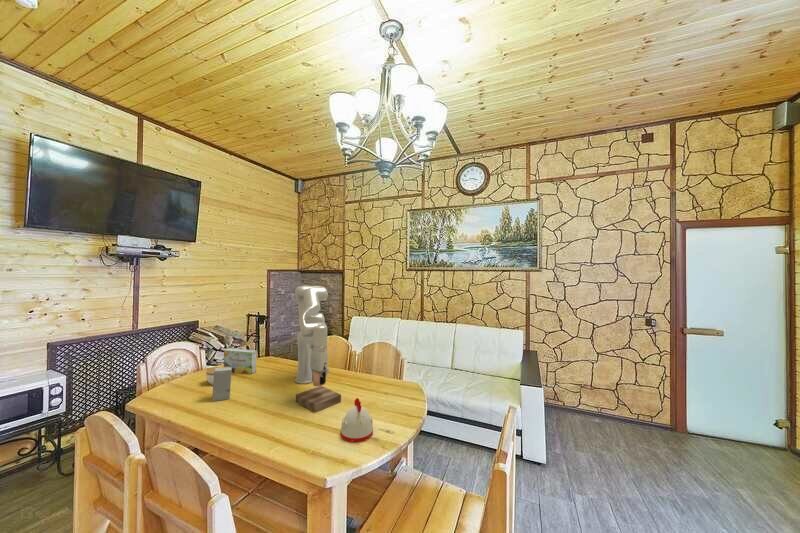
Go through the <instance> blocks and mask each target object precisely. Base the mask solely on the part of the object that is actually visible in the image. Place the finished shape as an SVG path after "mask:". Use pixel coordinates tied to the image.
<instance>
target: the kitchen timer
mask: <svg viewBox="0 0 800 533" xmlns="http://www.w3.org/2000/svg"><path fill="white" fill-rule="evenodd" d="M361 404H362V403H361V401H360V398H359V397H356V398H355V400H354V406H351V407H350V408H349V410H348V411H347V412H346V413H345V416H344V417H343V416H342V421H341V428H340V437H341V438H342V439H343V440H344V441H346V442H350V443H361V442H365V441H367V439H368V440H369V439H371V437H372V436H374V435H373V433H374V426H373V417H372V416H371V415H370V414H371V413H369V412H368V410H367V409H366V408H365V407H364V406H362V405H361Z"/></svg>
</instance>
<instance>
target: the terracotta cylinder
mask: <svg viewBox="0 0 800 533" xmlns="http://www.w3.org/2000/svg"><path fill="white" fill-rule="evenodd" d="M322 373H324V371H323V372H322ZM320 377H321V374H320V372H318V371H315V370H314V371H313V382H312V385H313V386H314V387H318V386H324V385H325V384H322V385H320Z"/></svg>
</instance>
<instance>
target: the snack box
mask: <svg viewBox="0 0 800 533" xmlns="http://www.w3.org/2000/svg"><path fill="white" fill-rule="evenodd" d="M223 367H232V371H231V373H234V374H235V373H236V374H242V375H243V374H244V375H252V374H254V373H256V372H257V350H255V349H244V348H233V347H232V348H231V347H227V348H226V349H224V350H223Z"/></svg>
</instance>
